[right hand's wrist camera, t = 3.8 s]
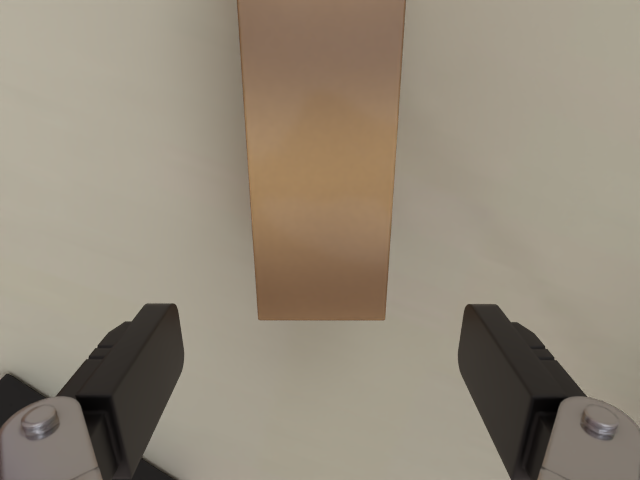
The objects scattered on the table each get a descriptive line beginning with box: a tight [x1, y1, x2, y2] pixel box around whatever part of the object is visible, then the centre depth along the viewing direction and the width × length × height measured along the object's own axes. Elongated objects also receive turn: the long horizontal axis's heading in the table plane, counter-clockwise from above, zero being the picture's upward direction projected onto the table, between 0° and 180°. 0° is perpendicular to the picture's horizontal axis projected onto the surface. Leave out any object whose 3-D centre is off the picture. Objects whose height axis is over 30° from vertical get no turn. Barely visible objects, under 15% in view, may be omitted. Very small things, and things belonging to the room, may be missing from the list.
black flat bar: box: [0, 374, 174, 480], centre depth 32 cm, size 18×1×5 cm, turn 45°
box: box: [237, 0, 406, 320], centre depth 19 cm, size 24×6×9 cm, turn 0°
